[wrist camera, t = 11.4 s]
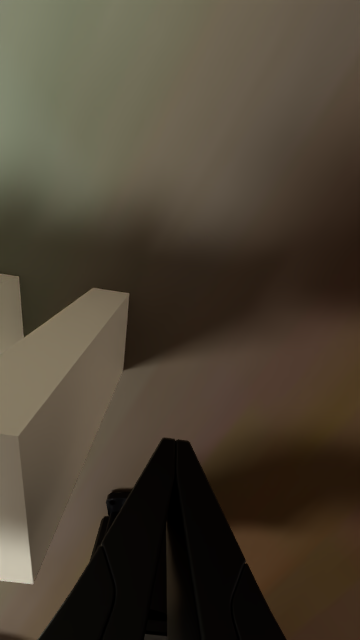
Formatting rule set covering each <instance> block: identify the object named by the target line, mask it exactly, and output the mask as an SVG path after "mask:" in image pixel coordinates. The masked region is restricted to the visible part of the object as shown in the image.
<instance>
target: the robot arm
mask: <svg viewBox="0 0 360 640" xmlns="http://www.w3.org/2000/svg"><path fill="white" fill-rule="evenodd" d="M106 504H107V510H108V515H109V516H105V517H104V518H103V519H102V520H101V524H100V527H99V531H98V534H97V538H96V541H95V545H94V548H93V552H92V555H91V559H90V562H89V564H88V565H87V567H86V569H85V570H84V572H83V573H82V575H81V577H80V578H79V580H78V582H77V583H76V585H75V586H74V588H73V590H72V591H71V592H70V594H69V595H68V597H67V598H66V600H65V601H64V603H63V604H62V606H61V607H60V609H59V610H58V611H57V613H56V614H55V616H54V617H53V619H52V620H51V622H50V623H49V624H48V626H47V627H46V629H45V630H44V631H43V633H42V634H41V636H40V637H39V638H38V640H286V638H285V636H284V634H283V632H282V631H281V629H280V627H279V625H278V623H277V622H276V620H275V618H274V616H273V614H272V613H271V611H270V609H269V607H268V605H267V603H266V601H265V599H264V597H263V595H262V593H261V591H260V589H259V587H258V585H257V583H256V581H255V578H254V576H253V574H252V572H251V570H250V568H249V566H248V564H247V563H246V564H245V562H246V560H245V558H244V556H243V553H242V551H241V549H240V547H239V545H238V543H237V541H236V539H235V537H234V534H233V532H232V530H231V528H230V526H229V524H228V522H227V520H226V518H225V516H224V513H223V511H222V509H221V507H220V505H219V503H218V501H217V499H216V497H215V494H214V492H213V490H212V488H211V486H210V484H209V482H208V480H207V478H206V476H205V473H204V471H203V469H202V467H201V465H200V463H199V461H198V459H197V457H196V454H195V452H194V450H193V448H192V446H191V444H190V442H189V441H186V440H179V439H178V440H176V441H175V439H171V438H163V439H162V440H161V441H160V443H159V445H158V447H157V448H156V450H155V452H154V453H153V455H152V457H151V458H150V460H149V462H148V464H147V465H146V467H145V469H144V470H143V472H142V474H141V476H140V477H139V479H138V481H137V482H136V484H135V486H134V487H133V489H132V491H131V493H110V494H109V495H108V497H107V500H106Z"/></svg>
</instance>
